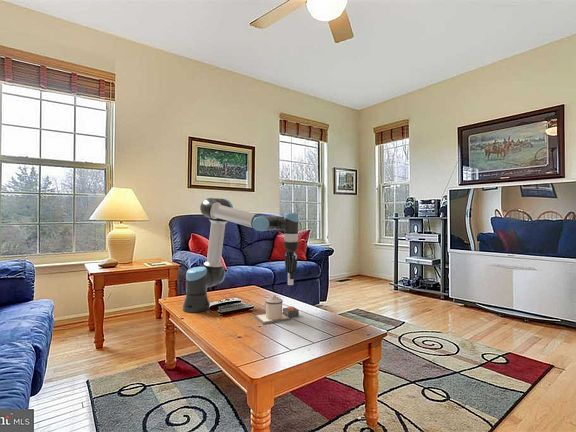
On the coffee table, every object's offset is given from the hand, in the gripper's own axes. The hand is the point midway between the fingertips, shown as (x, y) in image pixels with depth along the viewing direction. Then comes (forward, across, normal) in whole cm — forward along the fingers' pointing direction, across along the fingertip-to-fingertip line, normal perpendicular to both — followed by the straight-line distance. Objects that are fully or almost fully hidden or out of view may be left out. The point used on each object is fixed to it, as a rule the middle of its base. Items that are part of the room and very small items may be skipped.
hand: (290, 284), depth 175 cm
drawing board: (+17, 0, +11) cm, 20 cm away
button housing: (+17, 0, 0) cm, 17 cm away
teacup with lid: (+16, 0, +11) cm, 19 cm away
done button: (+15, 0, 0) cm, 15 cm away
